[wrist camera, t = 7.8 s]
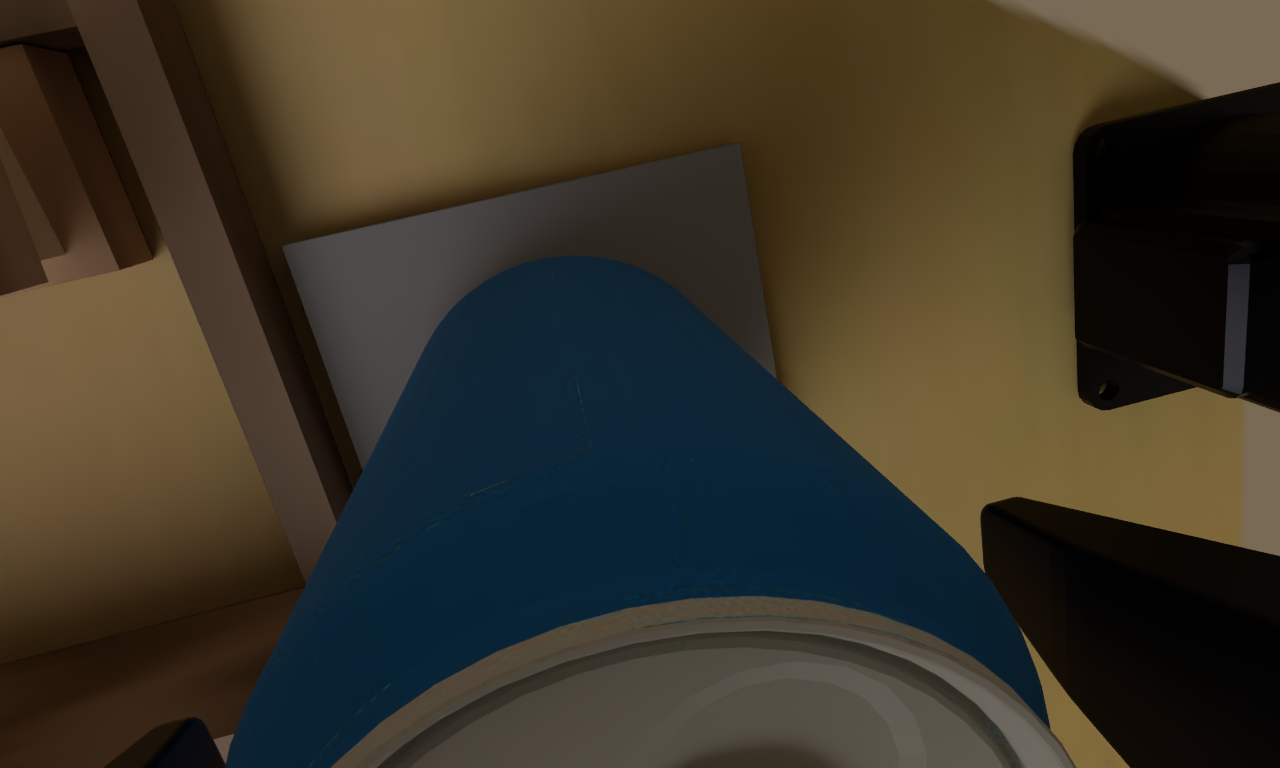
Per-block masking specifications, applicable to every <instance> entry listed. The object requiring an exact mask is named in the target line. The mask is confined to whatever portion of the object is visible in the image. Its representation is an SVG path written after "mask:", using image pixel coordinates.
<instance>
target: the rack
mask: <svg viewBox="0 0 1280 768" xmlns="http://www.w3.org/2000/svg"><path fill="white" fill-rule="evenodd" d="M19 44H24V45H29V46H34V47H39V48H44V49H49V50H54V51H64V50H69V49H74V48H79V47H84V46H86V49H87V51H88V54H89V56H90V59H91V61H92V63H93V66H94V68H95V71H96V73H97V76H98V78H99V81H100V83H101V85H102V88H103V90H104V93H105V95H106V98H107V100H108V103H109V105H110V107H111V110H112V112H113V115H114V117H115V120H116V122H117V124H118V127H119V129H120V132H121V134H122V137H123V139H124V142H125V144H126V146H127V149H128V151H129V154H130V156H131V159H132V161H133V164H134V166H135V168H136V171H137V173H138V176H139V178H140V181H141V183H142V185H143V188H144V190H145V193H146V195H147V198H148V200H149V203H150V205H151V207H152V210H153V212H154V215H155V217H156V220H157V222H158V225H159V227H160V229H161V232H162V234H163V237H164V239H165V242H166V244H167V246H168V249H169V251H170V254H171V256H172V259H173V261H174V264H175V266H176V268H177V271H178V273H179V276H180V278H181V281H182V283H183V286H184V288H185V290H186V293H187V295H188V298H189V300H190V303H191V305H192V307H193V310H194V312H195V315H196V317H197V320H198V322H199V325H200V327H201V329H202V332H203V334H204V337H205V339H206V342H207V344H208V347H209V349H210V351H211V354H212V356H213V359H214V361H215V364H216V366H217V368H218V371H219V373H220V376H221V378H222V381H223V383H224V386H225V388H226V390H227V393H228V395H229V398H230V400H231V403H232V405H233V408H234V410H235V412H236V415H237V417H238V420H239V422H240V425H241V427H242V429H243V432H244V434H245V437H246V439H247V442H248V444H249V447H250V449H251V451H252V454H253V456H254V459H255V461H256V464H257V466H258V469H259V471H260V473H261V476H262V478H263V481H264V483H265V486H266V488H267V490H268V493H269V495H270V498H271V500H272V503H273V505H274V508H275V510H276V512H277V515H278V517H279V520H280V522H281V525H282V527H283V530H284V532H285V534H286V537H287V539H288V542H289V544H290V547H291V549H292V552H293V554H294V556H295V559H296V561H297V564H298V566H299V569H300V571H301V573H302V576H303V578H304V581H305V583H307V581H308V579H309V577H310V575H311V573H312V571H313V569H314V567H315V565H316V563H317V561H318V559H319V557H320V555H321V553H322V551H323V549H324V547H325V545H326V543H327V541H328V539H329V537H330V535H331V533H332V532H333V530H334V528H335V526H336V524H337V522H338V520H339V518H340V516H341V514H342V512H343V510H344V508H345V506H346V504H347V502H348V500H349V498H350V496H351V494H352V492H353V490H352V487H351V485H350V482H349V479H348V476H347V474H346V471H345V468H344V466H343V463H342V460H341V457H340V455H339V452H338V449H337V447H336V444H335V441H334V438H333V436H332V433H331V430H330V428H329V425H328V422H327V419H326V417H325V414H324V411H323V409H322V406H321V403H320V400H319V398H318V395H317V392H316V390H315V387H314V384H313V382H312V379H311V376H310V373H309V371H308V368H307V365H306V363H305V360H304V357H303V354H302V352H301V349H300V346H299V344H298V341H297V338H296V335H295V333H294V330H293V327H292V325H291V322H290V319H289V316H288V314H287V311H286V308H285V306H284V303H283V300H282V297H281V295H280V292H279V289H278V287H277V284H276V281H275V279H274V276H273V273H272V270H271V268H270V265H269V262H268V260H267V257H266V254H265V251H264V249H263V246H262V243H261V241H260V238H259V235H258V232H257V230H256V227H255V224H254V222H253V219H252V216H251V213H250V211H249V208H248V205H247V203H246V200H245V197H244V194H243V192H242V189H241V186H240V184H239V181H238V178H237V176H236V173H235V170H234V167H233V165H232V162H231V159H230V157H229V154H228V151H227V148H226V146H225V143H224V140H223V138H222V135H221V132H220V129H219V127H218V124H217V121H216V119H215V116H214V113H213V110H212V108H211V105H210V102H209V100H208V97H207V94H206V91H205V89H204V86H203V83H202V81H201V78H200V75H199V72H198V70H197V67H196V64H195V62H194V59H193V56H192V54H191V51H190V48H189V45H188V43H187V40H186V37H185V35H184V32H183V29H182V26H181V24H180V21H179V18H178V16H177V13H176V10H175V7H174V5H173V2H172V0H0V48H4V47H9V46H14V45H19ZM303 589H304V587H303V588H299V589H295V590H292V591H288V592H284V593H280V594H276V595H272V596H268V597H264V598H260V599H257V600H253V601H249V602H245V603H241V604H237V605H233V606H229V607H226V608H222V609H218V610H214V611H210V612H206V613H202V614H198V615H194V616H191V617H187V618H183V619H179V620H175V621H171V622H167V623H163V624H159V625H156V626H152V627H148V628H144V629H140V630H136V631H132V632H128V633H125V634H121V635H117V636H113V637H109V638H105V639H101V640H97V641H93V642H90V643H86V644H82V645H78V646H74V647H70V648H66V649H62V650H59V651H55V652H51V653H47V654H43V655H39V656H35V657H31V658H27V659H24V660H20V661H16V662H12V663H8V664H4V665H0V768H103V767H104V766H106V765H107V764H108V763H110V762H111V761H112V760H113V759H115V758H116V757H117V756H118V755H120V754H121V753H122V752H123V751H125V750H126V749H127V748H129V747H130V746H131V745H132V744H134V743H135V742H136V741H137V740H139V739H140V738H141V737H143V736H144V735H145V734H146V733H148V732H149V731H150V730H151V729H153V728H154V727H157V726H159V725H161V724H165V723H169V722H173V721H176V720H180V719H184V718H188V717H196V718H199V719H201V720H202V721H203V722H204V723H205V724H206V726H207V727H208V730H209V732H210V734H211V736H212V738H213V740H214V742H215V744H216V746H217V748H218V750H219V752H220V754H221V756H222V758H223V760H224V762H225V764H226V761H227V756H228V752H229V747H230V744H231V741H232V739H233V736H234V734H235V731H236V729H237V727H238V724H239V722H240V719H241V717H242V714H243V712H244V709H245V707H246V704H247V702H248V700H249V697H250V695H251V693H252V691H253V689H254V687H255V685H256V683H257V681H258V679H259V677H260V675H261V673H262V671H263V669H264V667H265V665H266V663H267V661H268V659H269V657H270V655H271V653H272V651H273V649H274V647H275V645H276V643H277V641H278V639H279V637H280V635H281V633H282V631H283V629H284V627H285V625H286V623H287V621H288V619H289V617H290V615H291V613H292V611H293V609H294V607H295V605H296V603H297V601H298V599H299V597H300V595H301V593H302V591H303Z"/></svg>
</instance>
